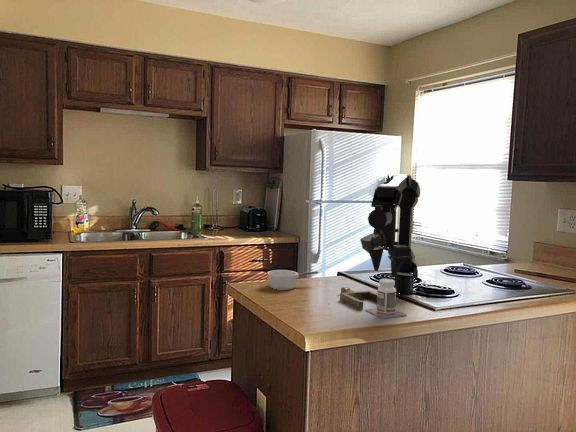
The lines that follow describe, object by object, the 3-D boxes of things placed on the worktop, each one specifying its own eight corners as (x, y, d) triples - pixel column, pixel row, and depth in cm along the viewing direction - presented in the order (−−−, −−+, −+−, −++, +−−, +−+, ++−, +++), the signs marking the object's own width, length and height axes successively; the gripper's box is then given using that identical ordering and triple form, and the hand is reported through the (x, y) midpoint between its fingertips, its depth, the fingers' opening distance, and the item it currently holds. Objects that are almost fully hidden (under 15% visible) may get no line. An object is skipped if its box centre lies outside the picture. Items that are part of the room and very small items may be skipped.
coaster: (389, 308, 155) (389, 306, 155) (406, 315, 147) (406, 314, 147) (365, 310, 152) (365, 309, 151) (382, 318, 143) (382, 317, 143)
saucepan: (323, 289, 179) (323, 274, 178) (271, 292, 172) (272, 276, 172) (311, 282, 190) (312, 268, 189) (263, 284, 183) (263, 270, 183)
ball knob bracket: (357, 291, 175) (357, 285, 175) (390, 306, 157) (390, 298, 157) (328, 294, 171) (328, 287, 170) (358, 309, 152) (359, 302, 152)
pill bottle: (395, 310, 152) (396, 279, 151) (395, 315, 146) (397, 283, 145) (376, 308, 153) (378, 277, 152) (376, 313, 147) (377, 281, 146)
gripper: (348, 222, 156) (347, 269, 158) (383, 230, 139) (381, 282, 141) (377, 221, 161) (375, 267, 162) (413, 228, 144) (411, 279, 145)
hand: (384, 273), depth 152 cm, fingers open, 9 cm apart
